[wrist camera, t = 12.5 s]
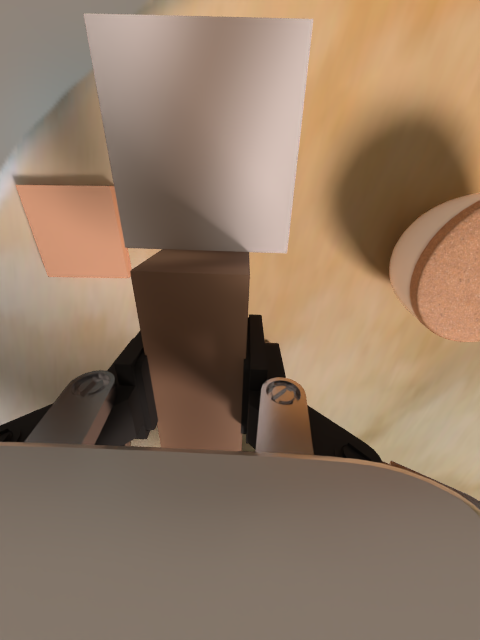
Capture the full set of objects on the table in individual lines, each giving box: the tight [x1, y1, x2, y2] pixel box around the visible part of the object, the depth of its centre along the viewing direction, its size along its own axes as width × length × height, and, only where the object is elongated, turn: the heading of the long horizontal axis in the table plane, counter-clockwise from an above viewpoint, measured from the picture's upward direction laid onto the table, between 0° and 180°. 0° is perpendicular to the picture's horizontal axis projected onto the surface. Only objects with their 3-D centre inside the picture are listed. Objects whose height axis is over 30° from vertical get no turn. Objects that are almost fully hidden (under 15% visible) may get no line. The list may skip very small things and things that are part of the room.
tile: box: [16, 185, 132, 278], centre depth 23 cm, size 8×2×8 cm
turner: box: [84, 13, 313, 451], centre depth 9 cm, size 6×15×4 cm, turn 178°
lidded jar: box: [389, 193, 480, 342], centre depth 20 cm, size 11×11×9 cm
